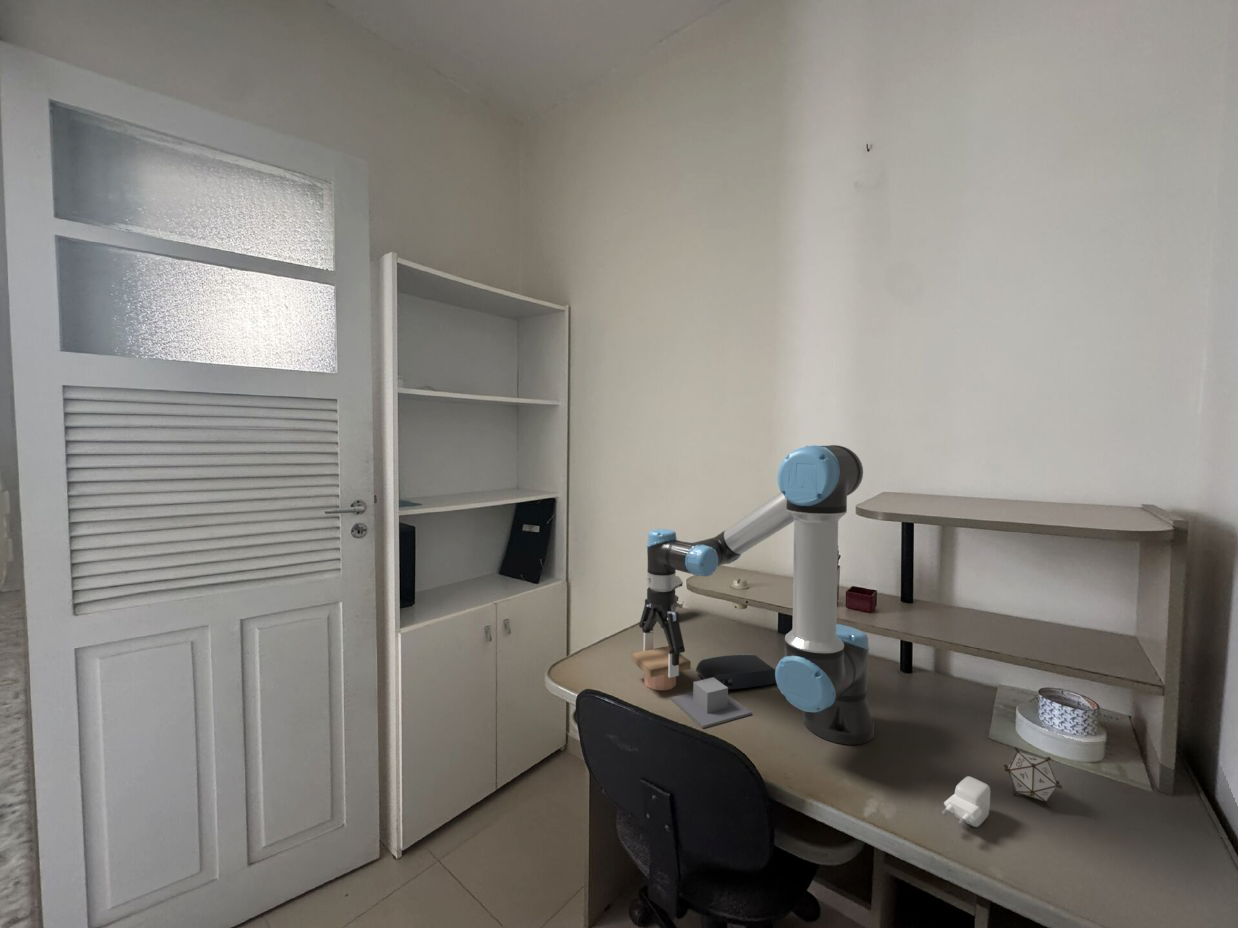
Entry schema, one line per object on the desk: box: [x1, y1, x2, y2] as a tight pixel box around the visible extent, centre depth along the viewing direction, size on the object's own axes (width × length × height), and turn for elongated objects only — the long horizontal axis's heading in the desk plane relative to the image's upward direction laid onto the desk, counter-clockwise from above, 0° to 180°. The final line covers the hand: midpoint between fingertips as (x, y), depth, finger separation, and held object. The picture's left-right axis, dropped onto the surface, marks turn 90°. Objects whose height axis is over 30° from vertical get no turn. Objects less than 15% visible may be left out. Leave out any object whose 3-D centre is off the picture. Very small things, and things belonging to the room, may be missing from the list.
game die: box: [1002, 746, 1064, 808], centre depth 96 cm, size 9×8×10 cm
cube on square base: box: [670, 677, 752, 729], centre depth 127 cm, size 14×14×6 cm
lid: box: [630, 645, 692, 678], centre depth 139 cm, size 11×12×2 cm
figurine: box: [671, 575, 684, 613], centre depth 187 cm, size 9×12×15 cm
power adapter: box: [941, 775, 991, 828], centre depth 89 cm, size 11×5×6 cm, turn 126°
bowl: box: [643, 672, 677, 691], centre depth 139 cm, size 8×8×5 cm
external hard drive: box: [695, 653, 777, 690], centre depth 142 cm, size 13×19×4 cm
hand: (660, 665), depth 139 cm, fingers open, 13 cm apart
